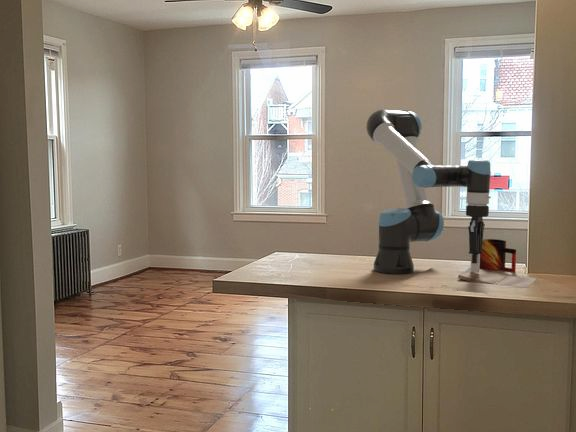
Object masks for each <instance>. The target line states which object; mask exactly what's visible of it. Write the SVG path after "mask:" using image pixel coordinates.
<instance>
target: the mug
mask: <svg viewBox="0 0 576 432" xmlns="http://www.w3.org/2000/svg"><path fill="white" fill-rule="evenodd" d="M481 252H483V253H482V254H481V253H479V254H480V269H483V270H487V271H492V272H494V271H498V272H499V271H503V272H508V273H509V272H510V273H516V266H517V264H516V262H517V261H516V260H517V249H515V248H509V247H507V241H506V240H503V239H495V238H483V243H482V251H481ZM506 254H511V267H506Z"/></svg>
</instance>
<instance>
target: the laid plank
mask: <svg viewBox="0 0 576 432" xmlns="http://www.w3.org/2000/svg"><path fill="white" fill-rule="evenodd" d="M536 280H537V278H536V277H529V276H528V277H527V276H526V277H525V276H517V275H516V276H515V275H508V274H507V275H506V276H505V277H503V278H502V279H501V280H499V281H498V282H497V283H495V285H497V286H498V285H499V286H509V287H516V288H527V289H528V288H529V287H530V286H531V285H532V284H533V283H534V282H535V281H536Z"/></svg>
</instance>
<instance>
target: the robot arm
mask: <svg viewBox="0 0 576 432" xmlns="http://www.w3.org/2000/svg"><path fill="white" fill-rule="evenodd" d="M365 127H366V132H367V135H368V136H369V138H370V139H371V140H372V141H373V142H374V143H375V144H377V145H381V146H382V147H383V148H384V149H385V150H387V152H389V153H390V154H391V155H392V156H393V157H394V158H395V159H396V163H397V167H398V173H399V175H400V176H399V177H400V180H401V181H400V182H401V185H402V190H403V194H404V200H405V204H406V206H405V208H402V207H401V208H400V207H399V208H390V209H385V210H383V211H381V213H379V218H378V219H379V220H378V250H377V253H376V256H375V259H374V262H373V271H375V272H377V273H382V274H387V275H388V274H389V275H403V274H404V275H405V274H410V273H414V271H415V270H414V269H415V264H414V261H413V259H412V255H411V252H410V245H411V243H414V242H415V243H417V242H418V243H419V242H429V241H435V240H437V239H438V238H439V237H441V235H442V232H443V231H444V227H445V221H444V217H443V214H442V213H440V211H438V210H436V209H435V206H434V203H433V202H431V201H429V198H428V193H427V188H438V187H439V188H447V187H448V188H449V187H453V188H454V187H457V188H459V187H460V188H461V187H462V188H466V198H465V199H466V201H465V203H466V206H465V216H467V217H471V218H470V221H469V226H467V228H468V229H467V230H468V244H469V246H468V247H469V249H468V250H469V251H468V254H470V268H471V270H470V272H474V273H479V269H480V254H479V253H481V254H482V253H483V252H481V251H482V243H483V239H484V230H485V226H486V225H485V221H484V220H483V218H486V217H489V211H490V206H489V204H490V199H492V198H491V197H492V196H491V195H490V187H491V185H490V184H491V174H492V172H491V162H490V161H489V160H488V159H487V160H481V159H476V160H475V159H469V160H468V161H467V165H456V164H450V165H437V164H436V165H435V164H434V163H433V162H432V161H431V160H430V159H428V158H427V157H426V156H425V155H424V154H423V153H421V152H420V150H418V148H417V146H416V145H417V143H418V141H419V137H420V136H421V133H422V131H421V130H422V127H423V125H422V121H421V118H420V117H419V115H418V114H417V113H415V112H414V111H409V110H406V109H402V110H396V109H395V110H394V109H393V110H392V109H379V110H376V111H374V112H373V113H372V114H370V116H369V117H368V119H367V120H366V126H365Z"/></svg>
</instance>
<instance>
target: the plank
mask: <svg viewBox="0 0 576 432" xmlns="http://www.w3.org/2000/svg"><path fill="white" fill-rule="evenodd" d="M470 270H471V267H469V268H467V270H465V271H463V272H461V273H459V274H458V276H457V279H460V280H463V281H467V282H471V283H479V284H489V285H496V283H497V282H499V281H500V280H501V279H503V278H504V277H505V276H507V275H506V274H504V273H503V274H502V273H498V272H494V271H492V270H483V269H479V273H474V272H470Z"/></svg>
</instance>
